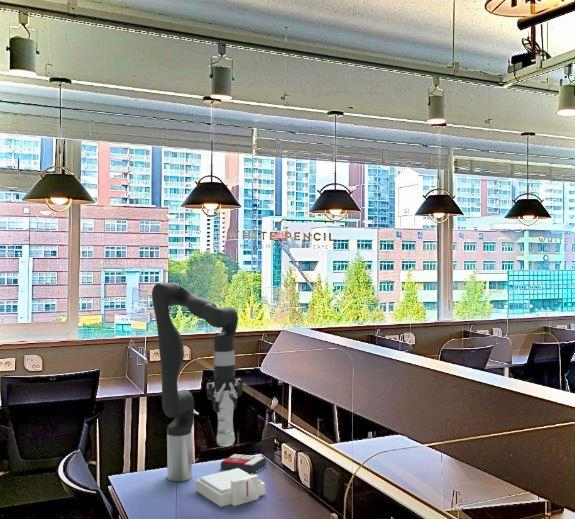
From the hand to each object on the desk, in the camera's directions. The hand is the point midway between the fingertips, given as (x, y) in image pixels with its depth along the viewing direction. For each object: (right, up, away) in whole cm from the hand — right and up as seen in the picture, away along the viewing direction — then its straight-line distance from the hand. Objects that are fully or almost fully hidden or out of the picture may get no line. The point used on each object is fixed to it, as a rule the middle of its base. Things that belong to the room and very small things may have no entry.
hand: (225, 410), depth 213 cm
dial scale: (+3, -30, -1) cm, 30 cm away
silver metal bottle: (0, -13, 0) cm, 13 cm away
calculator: (+5, -31, +27) cm, 41 cm away
